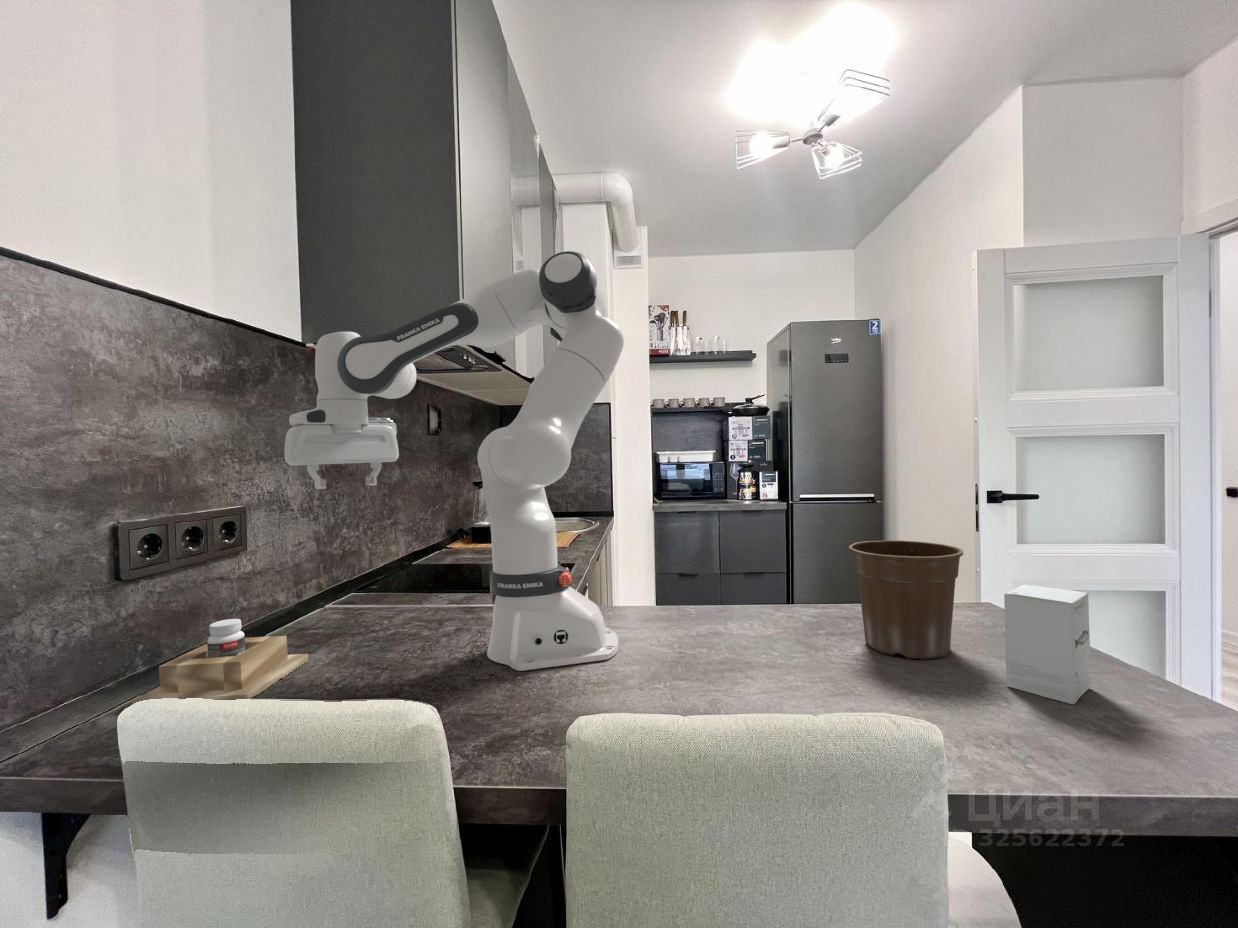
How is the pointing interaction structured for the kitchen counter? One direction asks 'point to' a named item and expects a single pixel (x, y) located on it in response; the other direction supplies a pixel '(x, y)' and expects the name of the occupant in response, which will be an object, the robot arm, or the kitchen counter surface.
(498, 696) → the kitchen counter surface
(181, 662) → the birch socket block
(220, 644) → the pill bottle
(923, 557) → the plant pot
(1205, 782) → the kitchen counter surface
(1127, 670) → the kitchen counter surface
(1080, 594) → the supplement box
